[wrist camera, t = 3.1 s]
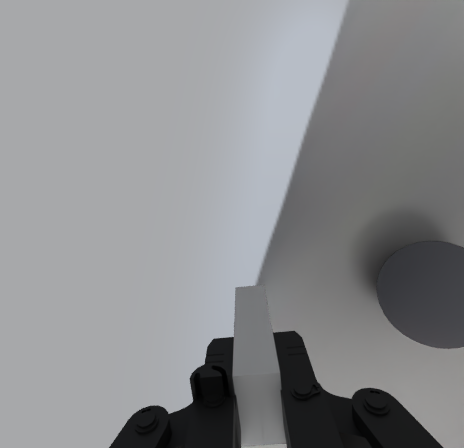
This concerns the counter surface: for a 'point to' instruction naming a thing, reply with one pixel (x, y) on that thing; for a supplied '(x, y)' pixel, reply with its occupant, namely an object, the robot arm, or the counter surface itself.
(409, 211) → the counter surface
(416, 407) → the counter surface
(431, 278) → the dark grey ball
